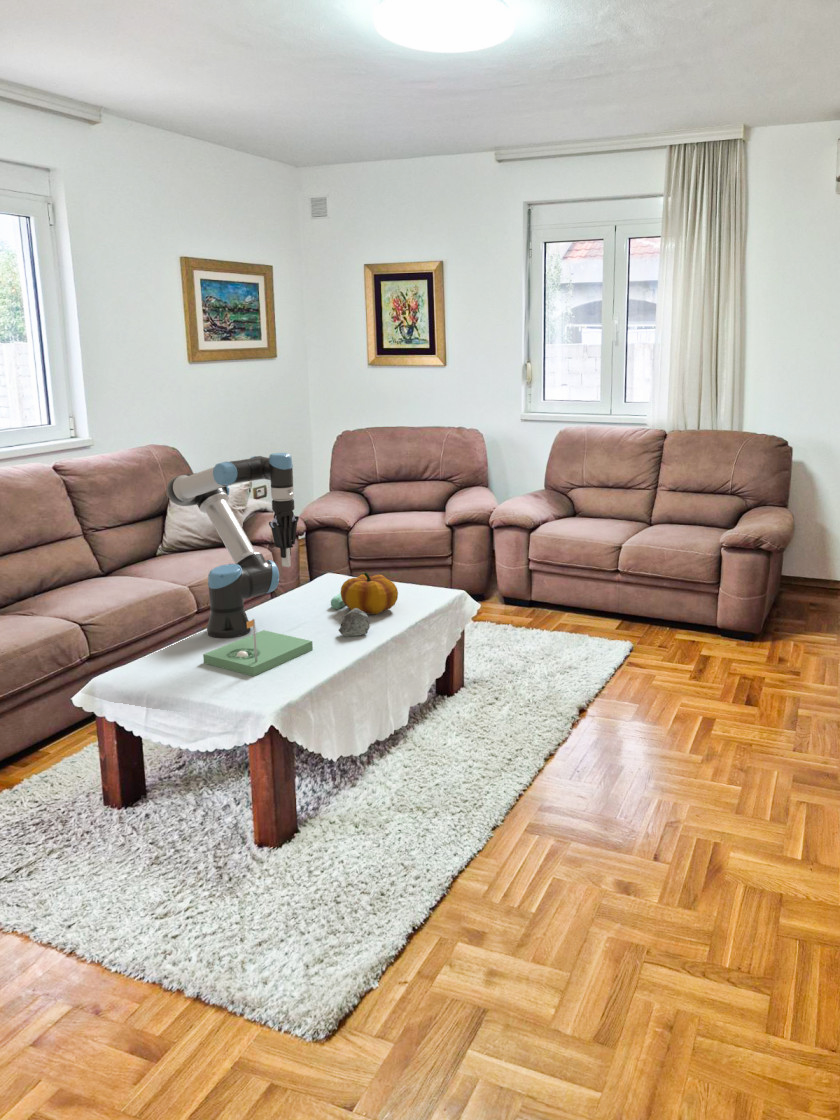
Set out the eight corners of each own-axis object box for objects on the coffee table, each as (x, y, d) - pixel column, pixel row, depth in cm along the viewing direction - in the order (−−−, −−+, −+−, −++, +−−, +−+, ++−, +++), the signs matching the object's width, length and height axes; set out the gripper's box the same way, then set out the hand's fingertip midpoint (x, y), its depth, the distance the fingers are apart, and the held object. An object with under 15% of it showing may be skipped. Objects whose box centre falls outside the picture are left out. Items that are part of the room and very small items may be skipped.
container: (337, 595, 347) (366, 577, 369) (325, 599, 349) (354, 581, 372) (343, 609, 347) (371, 590, 370) (331, 613, 350) (359, 594, 372)
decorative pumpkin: (354, 622, 333) (352, 582, 330) (335, 606, 353) (333, 568, 349) (405, 614, 341) (404, 575, 337) (383, 599, 361) (382, 562, 357)
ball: (246, 658, 297) (242, 667, 295) (236, 651, 296) (231, 660, 293) (252, 653, 295) (248, 662, 292) (242, 646, 293) (238, 655, 291)
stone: (353, 610, 314) (360, 601, 323) (332, 626, 317) (340, 617, 326) (371, 630, 315) (378, 621, 324) (351, 647, 318) (358, 637, 327)
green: (264, 638, 317) (261, 591, 313) (312, 649, 305) (310, 600, 301) (203, 662, 295) (199, 612, 291) (253, 676, 283) (250, 623, 279)
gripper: (278, 503, 303) (281, 571, 309) (303, 496, 314) (307, 563, 320) (261, 501, 307) (265, 569, 313) (287, 495, 318) (290, 560, 324)
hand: (286, 566), depth 316 cm, fingers closed
